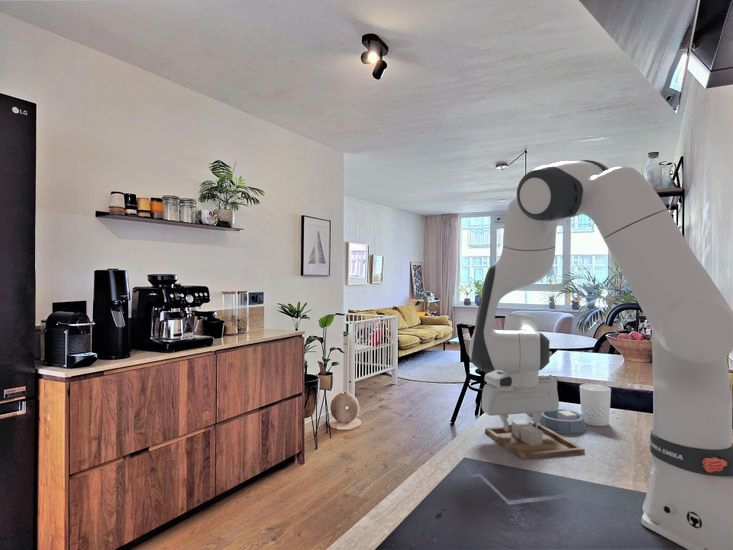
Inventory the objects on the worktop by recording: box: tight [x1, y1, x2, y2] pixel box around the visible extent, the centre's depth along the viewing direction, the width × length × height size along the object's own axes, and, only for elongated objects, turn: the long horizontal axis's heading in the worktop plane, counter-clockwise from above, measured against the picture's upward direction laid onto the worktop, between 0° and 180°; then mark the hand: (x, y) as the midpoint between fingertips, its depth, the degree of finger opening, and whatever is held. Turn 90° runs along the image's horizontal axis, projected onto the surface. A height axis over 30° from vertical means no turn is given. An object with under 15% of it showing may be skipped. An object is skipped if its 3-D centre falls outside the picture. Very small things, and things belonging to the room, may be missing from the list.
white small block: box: [557, 409, 577, 420], centre depth 126 cm, size 4×3×3 cm
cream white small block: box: [521, 426, 543, 446], centre depth 113 cm, size 4×3×3 cm
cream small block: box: [511, 419, 531, 438], centre depth 118 cm, size 4×3×3 cm
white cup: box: [579, 383, 612, 427], centre depth 130 cm, size 8×8×10 cm
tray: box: [484, 423, 586, 461], centre depth 114 cm, size 18×16×2 cm
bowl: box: [539, 408, 585, 434], centre depth 125 cm, size 11×11×4 cm
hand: (520, 429), depth 118 cm, fingers open, 6 cm apart
